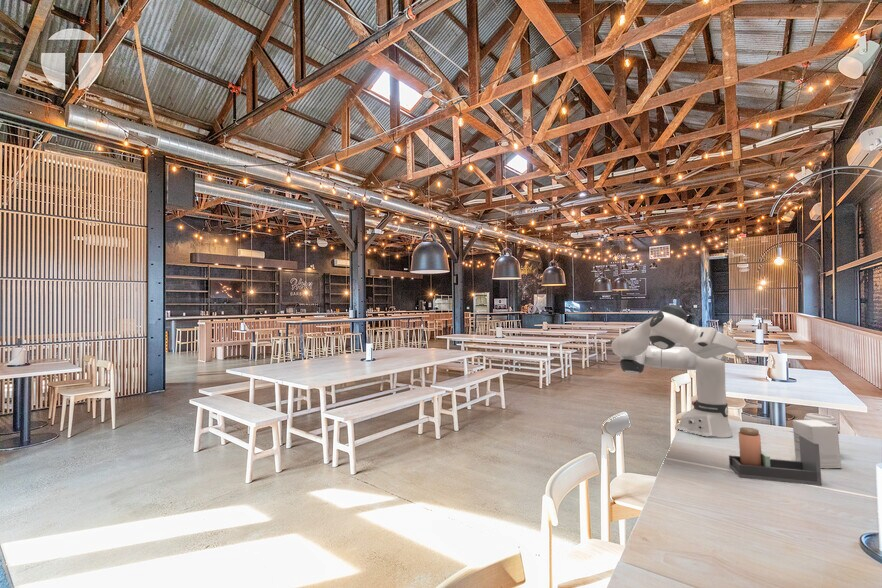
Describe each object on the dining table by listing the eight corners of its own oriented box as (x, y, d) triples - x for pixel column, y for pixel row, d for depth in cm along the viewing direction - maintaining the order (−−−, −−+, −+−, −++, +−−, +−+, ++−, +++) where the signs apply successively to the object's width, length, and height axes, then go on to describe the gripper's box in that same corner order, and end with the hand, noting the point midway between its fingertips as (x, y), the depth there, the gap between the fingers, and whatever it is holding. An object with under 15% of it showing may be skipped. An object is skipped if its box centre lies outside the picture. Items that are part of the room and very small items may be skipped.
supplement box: (820, 460, 149) (817, 419, 149) (842, 469, 140) (839, 426, 141) (794, 459, 149) (791, 419, 150) (814, 468, 141) (811, 425, 141)
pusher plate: (766, 474, 133) (765, 456, 133) (757, 466, 140) (756, 449, 140) (770, 475, 133) (769, 456, 133) (761, 467, 140) (760, 449, 140)
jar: (738, 470, 138) (735, 429, 139) (743, 465, 142) (741, 426, 143) (759, 475, 133) (756, 433, 134) (765, 470, 137) (762, 429, 138)
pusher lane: (739, 477, 135) (737, 438, 135) (729, 466, 144) (727, 430, 145) (821, 485, 127) (818, 444, 128) (805, 473, 137) (802, 435, 137)
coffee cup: (847, 459, 149) (844, 418, 150) (821, 459, 149) (818, 419, 150) (823, 450, 158) (821, 412, 159) (799, 450, 159) (796, 412, 159)
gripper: (679, 351, 158) (715, 369, 154) (708, 341, 138) (749, 361, 135) (685, 337, 159) (720, 355, 156) (714, 325, 140) (755, 345, 136)
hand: (734, 357), depth 145 cm, fingers open, 8 cm apart
